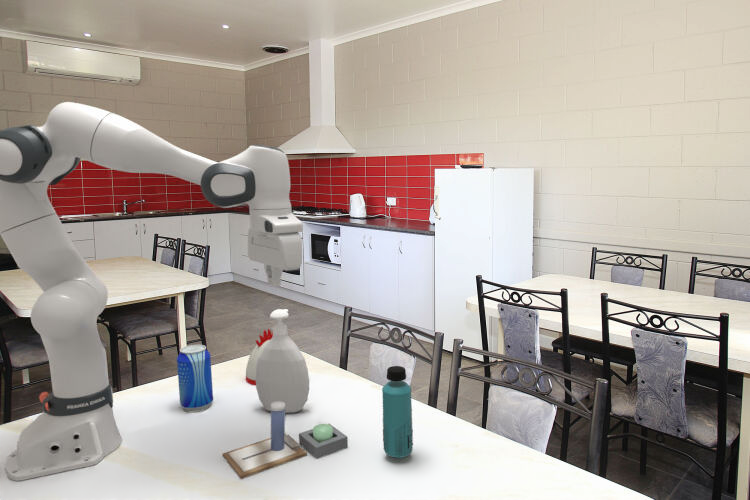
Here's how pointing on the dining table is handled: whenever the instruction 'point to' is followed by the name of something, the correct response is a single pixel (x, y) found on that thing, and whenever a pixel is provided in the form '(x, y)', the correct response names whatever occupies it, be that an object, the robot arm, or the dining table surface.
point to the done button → (322, 432)
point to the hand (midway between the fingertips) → (274, 285)
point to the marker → (277, 425)
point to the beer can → (194, 378)
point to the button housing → (323, 443)
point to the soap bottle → (282, 370)
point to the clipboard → (262, 456)
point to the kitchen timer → (256, 357)
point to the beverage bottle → (397, 414)
